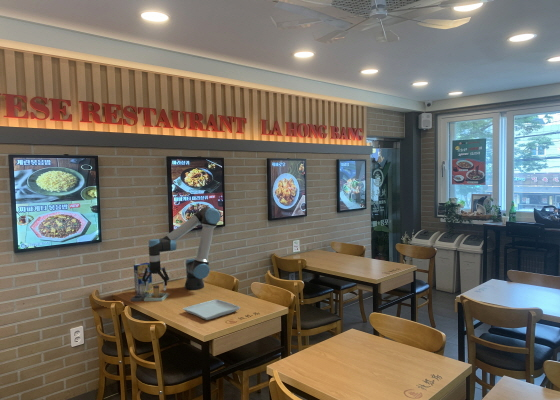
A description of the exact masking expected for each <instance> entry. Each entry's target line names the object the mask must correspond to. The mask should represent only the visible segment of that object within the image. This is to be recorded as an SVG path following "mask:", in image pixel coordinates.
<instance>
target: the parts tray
mask: <svg viewBox="0 0 560 400" xmlns="http://www.w3.org/2000/svg"><path fill="white" fill-rule="evenodd" d="M168 297H169V292H159V298H154V294H153V292H151V293H150V292H149V295H148V296H146V297H145V298H144V299H143V302H163V301H164V300H165V299H166V298H168Z"/></svg>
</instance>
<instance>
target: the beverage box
mask: <svg viewBox="0 0 560 400" xmlns="http://www.w3.org/2000/svg"><path fill="white" fill-rule="evenodd" d="M147 267H148V268H150V264H149V262H141V263H137V264H133V278H134V282H133V283H134V293H135V294H136V295H137V294H138V293H139V292H140V289H139V284H142V283H144V284H145V282H144V281H142V278H143V276H144V273H145V268H147ZM150 272H151V271H150V270H149V271H148V272H147V275H146V278H147V276H148V275H149V273H150ZM152 275H153V274H151V276H150V277H149V279H148V280H147V281H148V285H149V290H148V291H146V286H145V292H149V293H150V292H151V293H152V292H153V276H152ZM146 278H145V279H146Z"/></svg>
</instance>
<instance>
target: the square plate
mask: <svg viewBox="0 0 560 400" xmlns="http://www.w3.org/2000/svg"><path fill="white" fill-rule="evenodd" d="M240 308H241V306H239V305H237V304H233V303H231V302H227V301H224V300H220V299H217V298H216V299H213V300H208V301H203V302H201V303H196V304H193V305H189V306H186V307H182V309H183V310H184V311H185V312H186V313H188V314H191V315H194V316H196V317H199V318H201V319H203V320H206V321H208V320H212V319H217V318H220V317H223V316H225V315H228V314H231V313H235V312H236V311H238V310H240Z"/></svg>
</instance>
